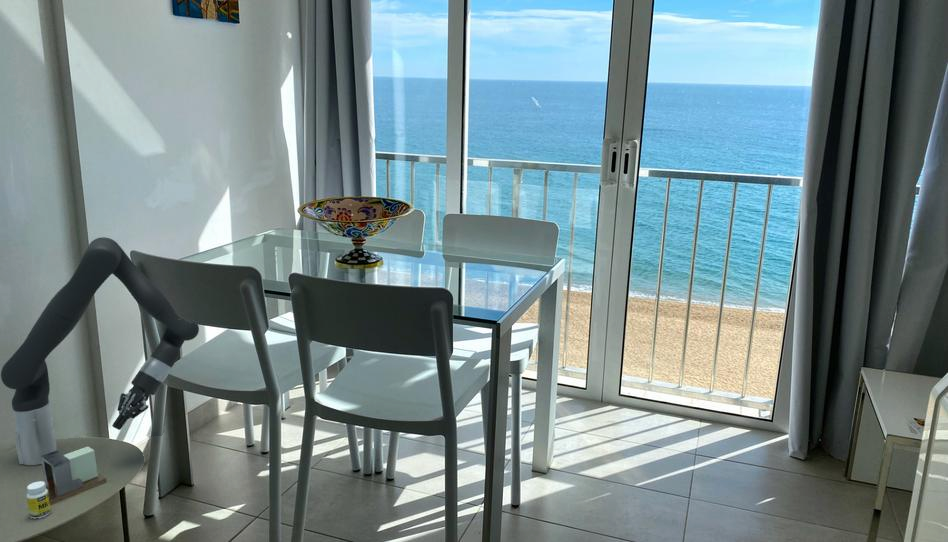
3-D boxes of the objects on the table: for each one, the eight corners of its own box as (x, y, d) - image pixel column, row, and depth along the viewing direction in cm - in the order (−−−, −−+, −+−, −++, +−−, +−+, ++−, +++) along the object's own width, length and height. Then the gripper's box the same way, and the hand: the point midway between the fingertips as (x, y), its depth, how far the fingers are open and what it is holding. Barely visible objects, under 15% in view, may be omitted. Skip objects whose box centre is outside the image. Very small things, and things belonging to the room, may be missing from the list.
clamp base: (92, 472, 204) (87, 439, 202) (106, 482, 199) (101, 448, 196) (35, 494, 193) (29, 459, 190) (48, 505, 187) (42, 469, 185)
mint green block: (91, 471, 202) (87, 446, 200) (98, 476, 199) (94, 450, 197) (61, 483, 196) (57, 457, 194) (68, 488, 193) (63, 461, 191)
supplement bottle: (41, 520, 181) (36, 491, 179) (25, 518, 182) (20, 489, 180) (55, 510, 185) (50, 481, 183) (40, 508, 186) (35, 479, 184)
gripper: (131, 365, 211) (94, 417, 205) (153, 374, 203) (116, 429, 197) (150, 376, 216) (115, 427, 210) (172, 386, 208) (137, 439, 202)
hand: (115, 428), depth 203 cm, fingers closed
